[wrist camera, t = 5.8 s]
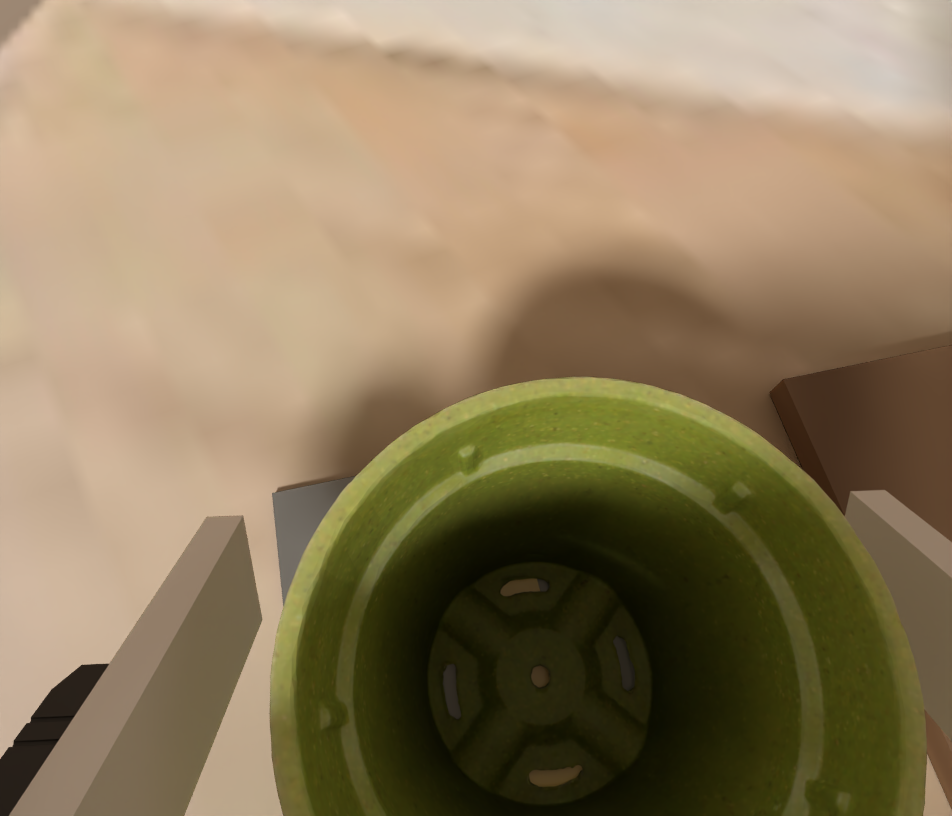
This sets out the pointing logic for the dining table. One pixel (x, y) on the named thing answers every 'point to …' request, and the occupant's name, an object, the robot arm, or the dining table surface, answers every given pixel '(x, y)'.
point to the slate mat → (295, 529)
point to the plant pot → (592, 625)
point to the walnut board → (881, 449)
